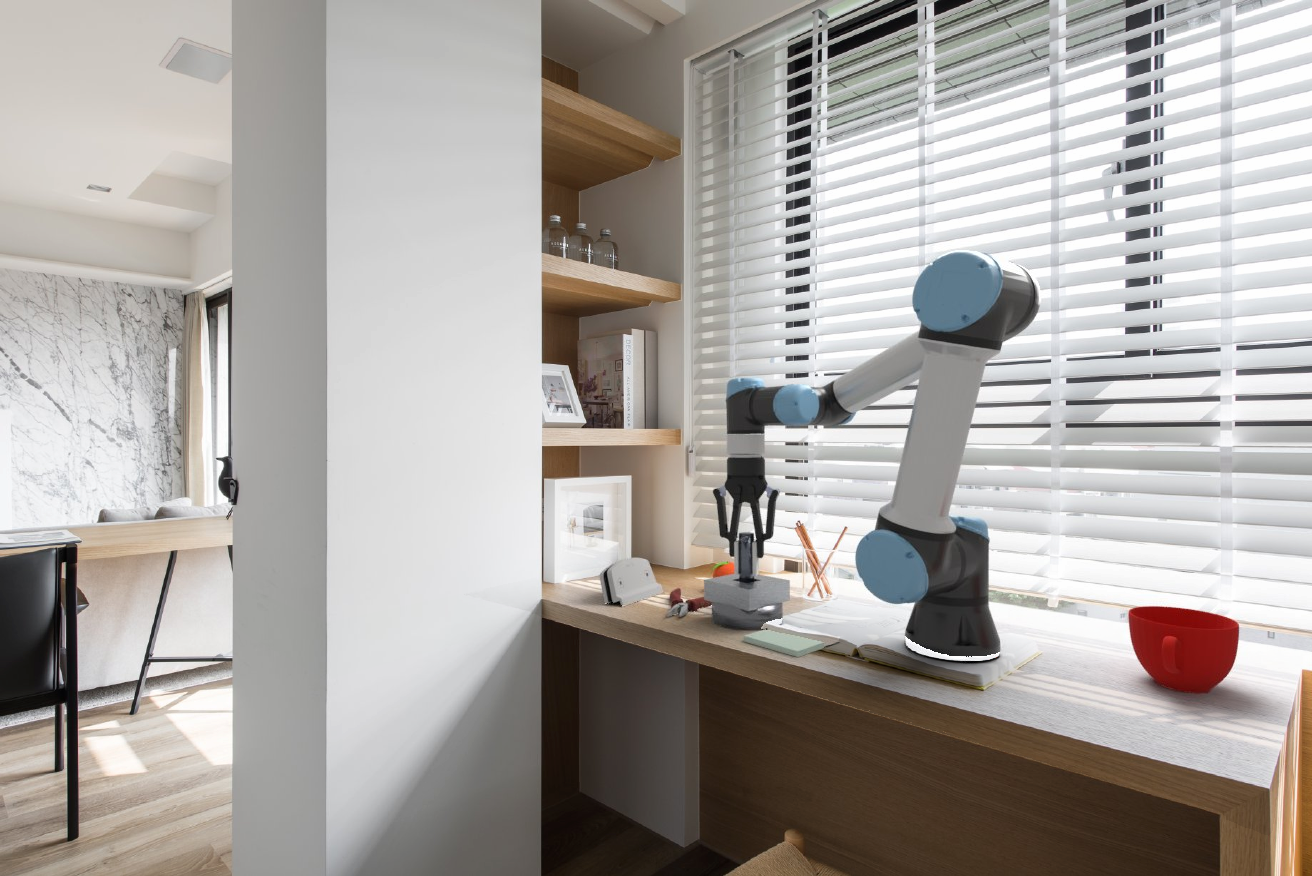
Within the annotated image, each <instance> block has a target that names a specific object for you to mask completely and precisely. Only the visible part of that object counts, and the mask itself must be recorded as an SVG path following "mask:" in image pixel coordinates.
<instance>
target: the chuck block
mask: <svg viewBox="0 0 1312 876" xmlns="http://www.w3.org/2000/svg"><path fill="white" fill-rule="evenodd" d="M790 581H791V580H790V579H789V580H788V579H785V578H779V577H774V576H769V575H763V574H758V575H757V576H754V582H751V583H744V582H739V574H738V575H735V574H730V575H725V576H721V577H716V578H713V577H711V578H706V579H703V587H704V589H703V593H704V594H703V597H704V600H707V601H711V602H712V606H711V622H712V623H713V622H714V624H715V625H716V626H719V627H721V628H726V629H732V630H741V631H761V630H760V629H761V627H762V626H763V624H764V623H766V622H768V621H772V620H775V619H781V618H783V616H784V615H783V613H784V612H783V609H784V608H783V606H784V605H783V603H786V602H790V601H791V594H790V593H791V584H790V583H791V582H790Z"/></svg>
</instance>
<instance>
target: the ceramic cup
mask: <svg viewBox="0 0 1312 876" xmlns="http://www.w3.org/2000/svg"><path fill="white" fill-rule="evenodd" d="M1127 614H1128V616H1127V617H1128V627H1129V628H1128V630H1129V635H1130V641H1131V645H1132V649H1133V651H1134V653H1135V656H1136V658H1137V660H1138V662H1139V663H1140V666H1142V668H1143V669H1144V670H1145V672H1146V673H1147V674H1148V675H1149V677H1151V678H1152V679H1153V681H1154V682H1155V683H1156V684H1157V685H1158V686H1161V687H1164V688H1166V689H1169V690H1174V691H1177V692H1178V691H1179V692H1182V693H1192V694H1205V693H1206V694H1207V693H1209V692H1210V691H1211V690H1212V689H1214V688H1215V687H1216V686H1218V685H1219V684H1220V683H1222V681H1224V679H1226V678H1227V676H1228V675H1229V674H1230V672H1231V671H1232V669H1233V666H1234V665H1235V662H1236V658H1237V653H1238V649H1239V648H1238V646H1239V640H1240V625H1239V623H1238V622H1237V621H1236V620H1234V619H1232V618H1230V617H1227V616H1224V615H1221V614H1217V613H1214V612H1207V611H1204V610H1198V609H1192V608H1184V607H1176V606H1175V607H1174V606H1163V605H1161V606H1160V605H1159V606H1157V605H1151V606H1150V605H1149V606H1147V605H1145V606H1144V605H1143V606H1136V607H1133V608H1130V609H1129V610H1128V612H1127Z"/></svg>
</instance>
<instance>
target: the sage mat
mask: <svg viewBox="0 0 1312 876" xmlns="http://www.w3.org/2000/svg"><path fill="white" fill-rule="evenodd" d="M743 642H744V643H749V644H752V645H755V646H759V647H762V648H766V649H768V650H773V651H774V652H775V651H776V652H779V653H782V654H786V655H789V656H792V657H795V658H800V657H802V656H805V655H807V654H811V653H814V652H818V651H819V650H820V651H821V650H822V649H825V648H824V642H821V641H817V640H812V639H808V638H804V637H800V636H795V635H790V634H785V633H779V632H775V631H771V630H766V629H763V630H757V631H756V632H751V633H749V634H745V635H743Z"/></svg>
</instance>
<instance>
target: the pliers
mask: <svg viewBox="0 0 1312 876" xmlns="http://www.w3.org/2000/svg"><path fill="white" fill-rule="evenodd" d="M681 595H682V589H681V588H680V587H677V588H675V589H673V590H671V592H670V594H669V601H670V609H669V611H668V613H666V615H665V617H666V618H669V617H673V616H672V615H674V614H676V615H678V614H677V613H679V615H678V616H679V618H682V617H684V616H686V615H687V614H688V612H694V611H695V612H698V610H699V608H700V609H703V608H702V607H704V608H708V607H712V606H711V605H712V602H711V601H707V600H704V596H701V597H696V598H692V599H689V598H688V599H687V600H685V602H684V600H683V598H681ZM690 610H692V611H690ZM687 611H688V612H687ZM695 612H694V613H695ZM674 616H675V615H674Z"/></svg>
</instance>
